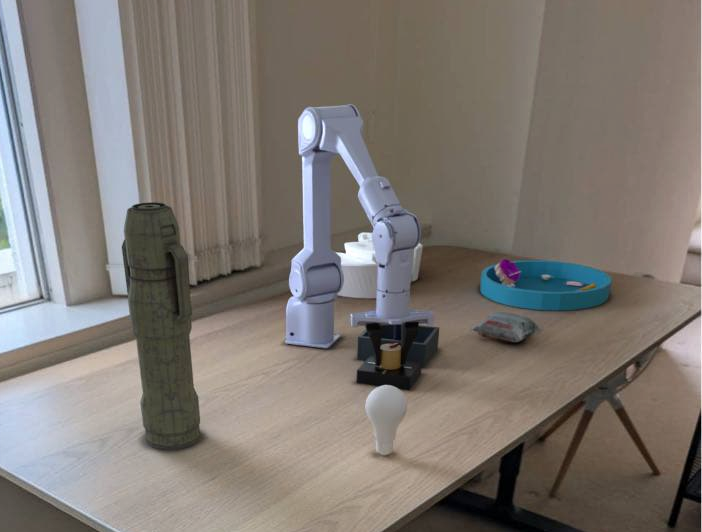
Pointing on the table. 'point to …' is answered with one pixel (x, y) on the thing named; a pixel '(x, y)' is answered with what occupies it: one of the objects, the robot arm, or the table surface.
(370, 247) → the wavy white extrusion
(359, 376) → the block
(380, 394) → the lightbulb
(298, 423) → the table surface
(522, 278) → the round blue tray
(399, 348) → the tap knob
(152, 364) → the thermos
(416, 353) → the dark teal open box
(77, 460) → the table surface
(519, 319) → the packaged food
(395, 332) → the eraser
